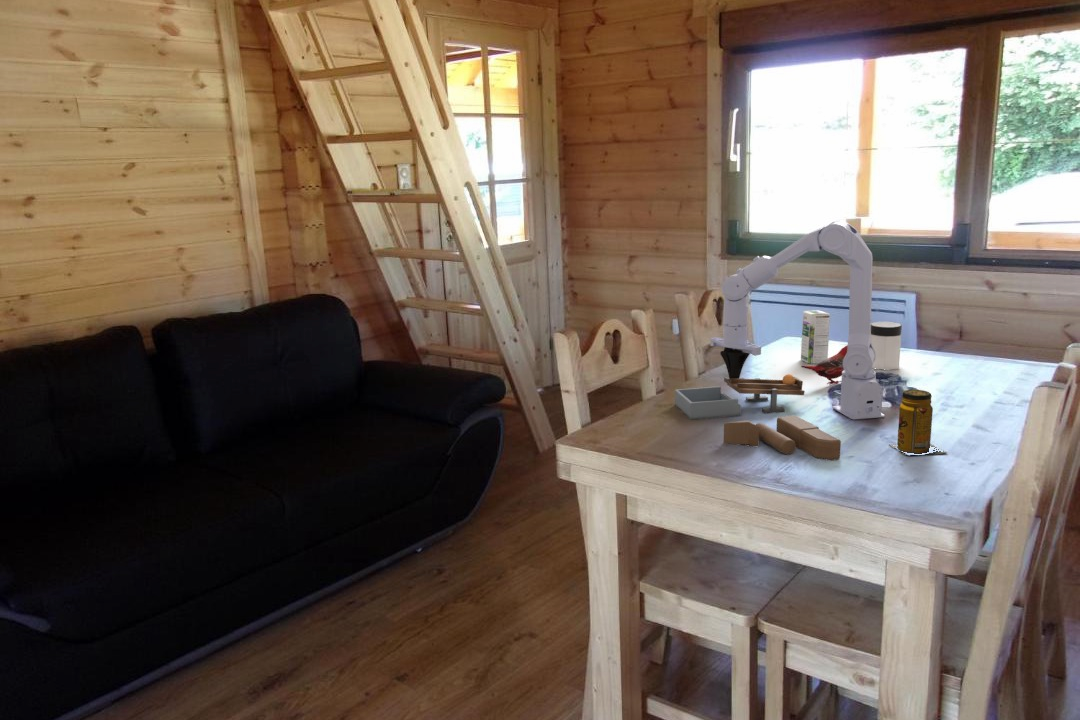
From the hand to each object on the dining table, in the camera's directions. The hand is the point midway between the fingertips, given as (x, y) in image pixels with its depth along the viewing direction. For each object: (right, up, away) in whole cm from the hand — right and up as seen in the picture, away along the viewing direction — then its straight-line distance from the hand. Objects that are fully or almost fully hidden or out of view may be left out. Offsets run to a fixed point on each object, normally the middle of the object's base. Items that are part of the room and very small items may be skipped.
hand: (734, 379), depth 204 cm
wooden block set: (+1, -14, -33) cm, 36 cm away
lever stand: (+7, -6, -4) cm, 10 cm away
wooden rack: (+6, -2, -3) cm, 7 cm away
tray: (-8, -7, -5) cm, 12 cm away
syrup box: (+32, +4, +37) cm, 49 cm away
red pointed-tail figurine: (+27, -2, +12) cm, 30 cm away
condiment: (+29, -14, -36) cm, 48 cm away
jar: (+48, +3, +29) cm, 56 cm away
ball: (+12, 0, -4) cm, 13 cm away
